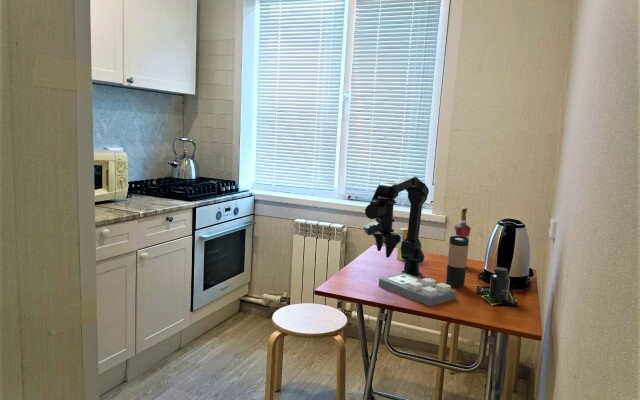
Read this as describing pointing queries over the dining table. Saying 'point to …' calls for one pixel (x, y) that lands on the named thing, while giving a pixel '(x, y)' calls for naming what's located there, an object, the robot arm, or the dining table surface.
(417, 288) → the button
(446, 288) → the button
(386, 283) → the button board
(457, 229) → the liquor
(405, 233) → the candy box
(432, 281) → the button
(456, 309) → the dining table surface
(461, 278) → the travel mug
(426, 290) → the button
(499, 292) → the supplement bottle
